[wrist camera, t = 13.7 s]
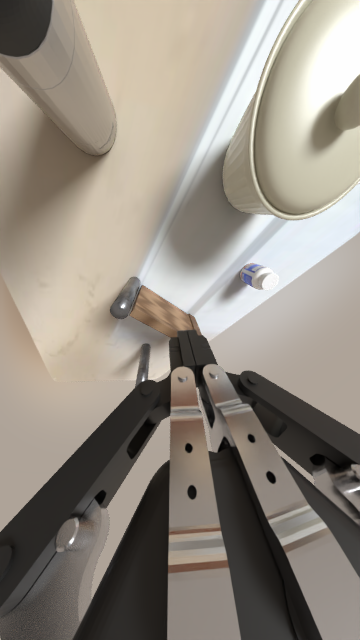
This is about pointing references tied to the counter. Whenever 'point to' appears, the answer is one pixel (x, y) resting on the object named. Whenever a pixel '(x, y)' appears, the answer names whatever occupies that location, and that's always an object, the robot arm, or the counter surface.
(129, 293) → the gate posts
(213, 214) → the counter surface
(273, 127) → the canister
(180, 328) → the gate leaf
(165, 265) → the counter surface
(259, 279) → the pill bottle
